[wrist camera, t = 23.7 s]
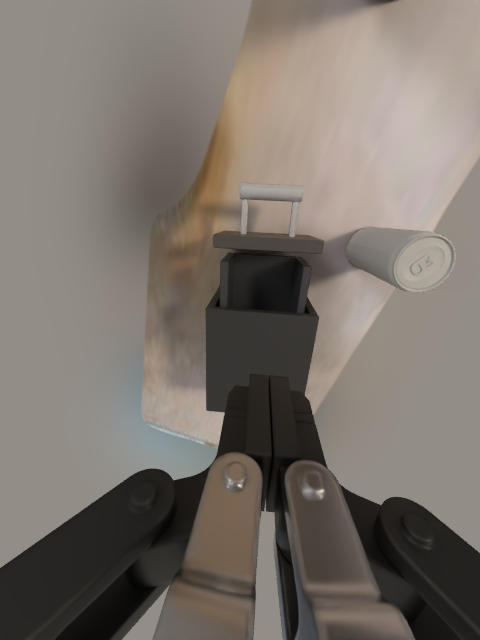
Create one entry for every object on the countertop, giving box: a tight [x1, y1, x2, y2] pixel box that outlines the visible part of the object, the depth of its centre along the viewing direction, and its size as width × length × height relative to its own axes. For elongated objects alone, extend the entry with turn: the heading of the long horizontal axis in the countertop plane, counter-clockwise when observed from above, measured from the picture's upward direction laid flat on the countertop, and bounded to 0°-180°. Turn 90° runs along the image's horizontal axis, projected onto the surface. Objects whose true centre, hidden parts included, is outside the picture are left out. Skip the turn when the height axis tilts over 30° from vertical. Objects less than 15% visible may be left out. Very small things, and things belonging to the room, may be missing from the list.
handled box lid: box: [213, 183, 324, 313], centre depth 28 cm, size 17×10×7 cm, turn 177°
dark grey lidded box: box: [206, 286, 319, 412], centre depth 32 cm, size 14×12×9 cm
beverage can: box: [346, 227, 456, 292], centre depth 25 cm, size 5×5×12 cm
